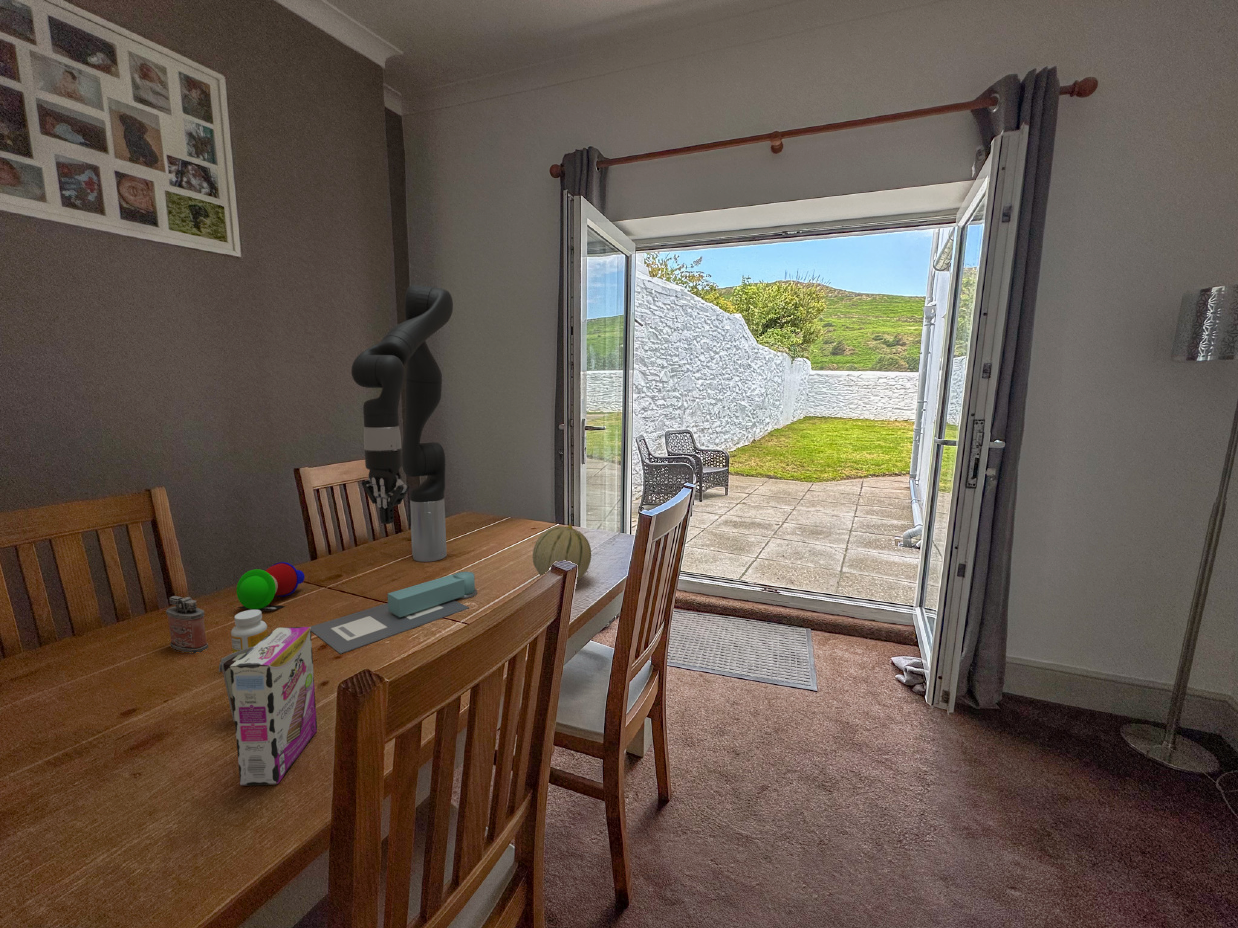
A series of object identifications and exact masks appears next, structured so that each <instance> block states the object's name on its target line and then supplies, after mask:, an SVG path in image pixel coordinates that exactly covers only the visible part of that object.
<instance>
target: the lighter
mask: <svg viewBox="0 0 1238 928" xmlns="http://www.w3.org/2000/svg"><path fill="white" fill-rule="evenodd" d="M169 604H170V605H173V606H172V607H168V608H167V609H166V610H165V613H166V615H167V619H168V626H169V635H170V642H169V643H170V645H169V646H171V647H172V648H174V649H176V650H180V651H183V652H182V653H184V652H191V653H190V654H192V652H193V653H196V652H201V651H203V650H205V649H207V648H208V649H209V643H208V642H207V636H206V627H205V620H204V619H205V618H204V616H205V615H206V614H205V610H203V609H201V608H199V607H197V600H194V599H193V598H192V597H190V596H186V597H182V596H177V595H173V596H170V597H169ZM171 647H170V648H171ZM172 648H171V649H172ZM174 649H173V650H174ZM208 649H207V650H208ZM176 650H175V651H176ZM201 653H202V652H201ZM196 654H197V653H196Z"/></svg>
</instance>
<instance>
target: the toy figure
mask: <svg viewBox="0 0 1238 928" xmlns="http://www.w3.org/2000/svg"><path fill="white" fill-rule="evenodd" d="M305 578H306V577H305V573H304V571H302V570H300V569H297V568H296V567H295V566H294V565H292V564H291V563H288V562H285V561H281V562H280V561H279V562H277V563H274V564H272V565H271V566H269V567H268V568H266V569H265V570H263V569H259V568H257V569H252V570H248V571H246V572H245V573H244V574H242V575H241V577H240V578H239V580H238V582H237V584H236V592H235V593H236V597H237V599H238V601H239V603H240V604H241V605H242V606H239V607H237V609H244V610H260V611H266V612H272V611H274V610H278V609H280V608H284V607H286V606H284V605H274V604H271V602H272V601H273V599H274V597H279V598H280V597H281V598H282V597H287V596H290V595H292V594H294V592H295V591H296V590H297V588H298V587H299V585H300V584H303V582H304V581H305Z"/></svg>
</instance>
